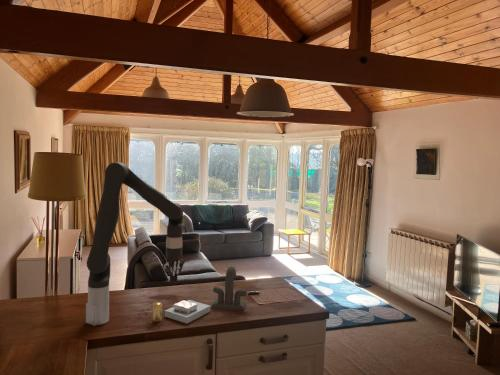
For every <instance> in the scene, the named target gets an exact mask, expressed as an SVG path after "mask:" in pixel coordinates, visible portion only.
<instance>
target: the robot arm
mask: <svg viewBox="0 0 500 375" xmlns="http://www.w3.org/2000/svg"><path fill="white" fill-rule="evenodd" d="M122 185H125V186H127V187H128V188H131V190H133V191H134V192H136V193H137V194H138V196H140V197H141V198H142V199H143V200H144V201H146V202H147V203H148V204H150V205H152V206H153V207H155V208H156V209H158V210H159V211H160V212H161V213H162V214H163V215H164V216H166V217H167V218H168V225H167V227H166V240H165V256H166V262H165V264H162V268H163V270H164V272H165V273H166V275H169V283H171V284H175V283H177V282H178V275H179V273H181V272H182V269H183V267H184V264H185V262H186V261H185V260H184V259H183V258H182V256H183V220H184V207H183V206H182V205H181V203H179V202H173V201H171V200H170V199H169V198H168V197H167V196H166V195H165V194H164V193H162V192H161V191H159V190H158V189H157V188H155V187H154V186H152V185H150V184H149V183H148V182H146V181H145V180H143V179H142V178H140V177H139V176H138V175H137V174H136V173H134V171H132V170H131V169H130V168H129V166H127V165H126V164H125V163H123V162H118V161H117V162H111V163H109V164H108V165H107V166H106V168H105V171H104V180H103V188H102V195H101V197H100V202H99V207H98V210H97V215H96V218H95V224H94V231H93V238H92V239H93V240H92V244H91V247H90V250H89V253H88V257H87V260H86V268H87V270H88V271H89V276H88V278H87V302H86V303H85V324H89V325H92V326H93V327H95V326H100V325H104V324H107V323H108V322H109V321H110V278H111V257H110V254H109V250H110V244H111V242H112V239H113V236H114V234H115V231H116V228H117V225H118V222H119V221H118V220H119V216H120V193H121V188H122Z"/></svg>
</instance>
